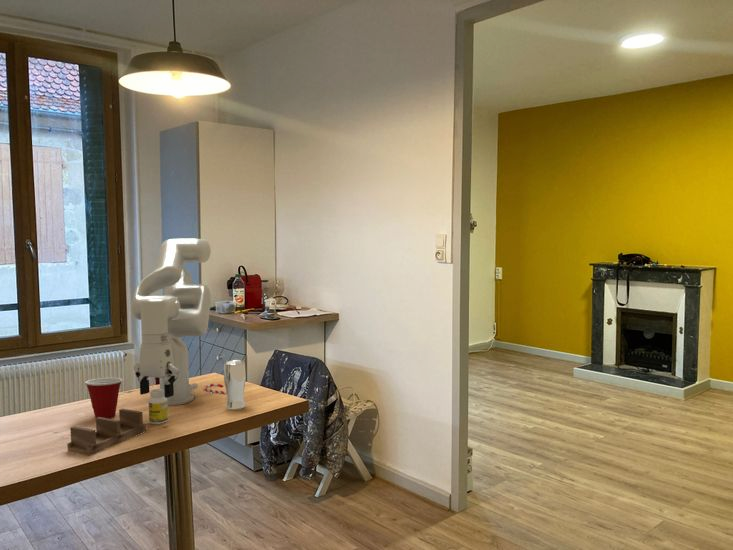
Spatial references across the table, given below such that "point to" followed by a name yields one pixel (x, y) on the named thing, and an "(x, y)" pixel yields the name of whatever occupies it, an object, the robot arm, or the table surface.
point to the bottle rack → (106, 432)
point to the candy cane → (214, 390)
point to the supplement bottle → (158, 407)
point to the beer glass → (235, 383)
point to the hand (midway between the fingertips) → (156, 395)
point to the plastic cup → (104, 396)
